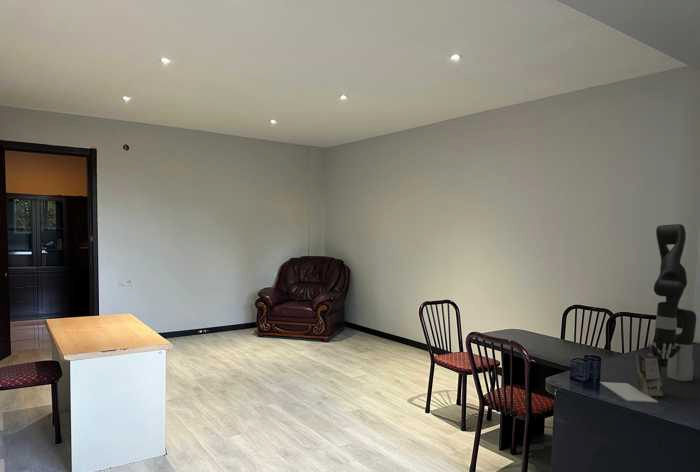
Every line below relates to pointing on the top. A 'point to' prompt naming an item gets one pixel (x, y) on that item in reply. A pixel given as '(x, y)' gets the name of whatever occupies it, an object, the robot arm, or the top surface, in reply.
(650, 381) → the coffee box
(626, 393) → the mat
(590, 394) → the top surface
